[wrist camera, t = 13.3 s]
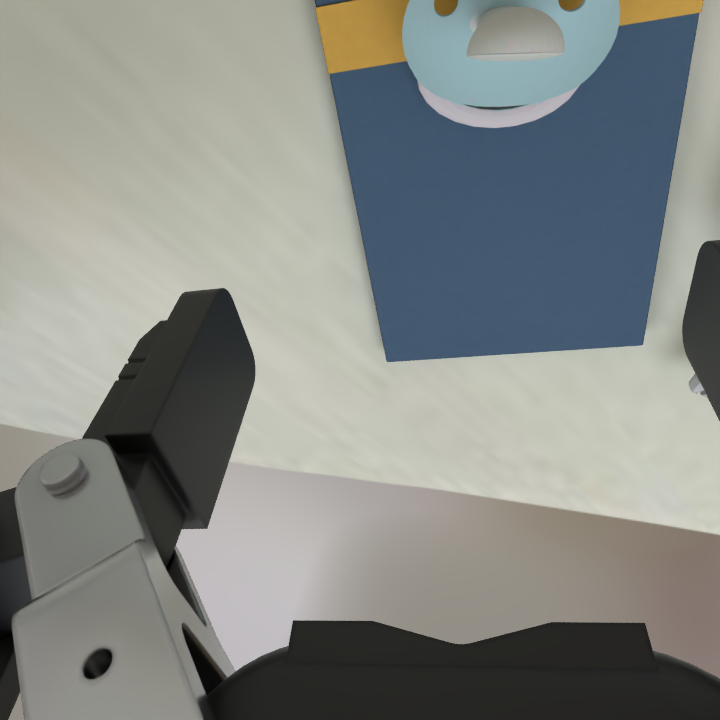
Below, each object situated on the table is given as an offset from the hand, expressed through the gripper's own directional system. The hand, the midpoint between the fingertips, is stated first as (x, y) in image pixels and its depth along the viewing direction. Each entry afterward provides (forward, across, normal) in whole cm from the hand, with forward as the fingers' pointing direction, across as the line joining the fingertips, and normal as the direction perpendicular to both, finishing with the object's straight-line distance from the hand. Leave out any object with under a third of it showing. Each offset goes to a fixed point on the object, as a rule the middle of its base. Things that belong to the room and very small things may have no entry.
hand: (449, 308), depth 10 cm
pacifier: (+17, -2, 0) cm, 17 cm away
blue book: (+18, -3, +6) cm, 19 cm away
